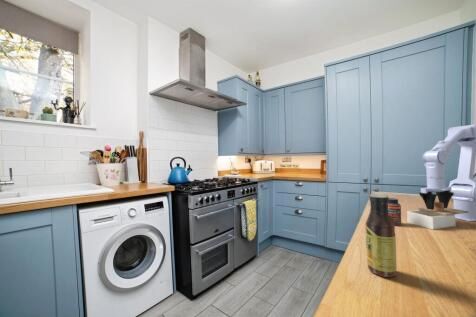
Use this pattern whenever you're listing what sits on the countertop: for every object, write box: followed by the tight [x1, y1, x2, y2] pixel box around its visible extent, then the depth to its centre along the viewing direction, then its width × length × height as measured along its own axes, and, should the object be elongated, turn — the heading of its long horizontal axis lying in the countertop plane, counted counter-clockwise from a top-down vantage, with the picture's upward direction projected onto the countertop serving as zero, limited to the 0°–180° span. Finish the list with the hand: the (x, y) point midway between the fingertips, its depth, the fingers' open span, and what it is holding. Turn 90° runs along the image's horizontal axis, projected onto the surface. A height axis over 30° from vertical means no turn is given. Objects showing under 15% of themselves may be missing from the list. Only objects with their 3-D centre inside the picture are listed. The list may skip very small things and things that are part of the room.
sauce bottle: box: [365, 193, 398, 278], centre depth 51 cm, size 7×6×20 cm
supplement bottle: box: [388, 197, 402, 227], centre depth 88 cm, size 6×6×11 cm
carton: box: [406, 209, 456, 230], centre depth 86 cm, size 12×10×5 cm
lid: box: [417, 201, 469, 215], centre depth 87 cm, size 12×10×4 cm
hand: (436, 208), depth 87 cm, fingers open, 7 cm apart
